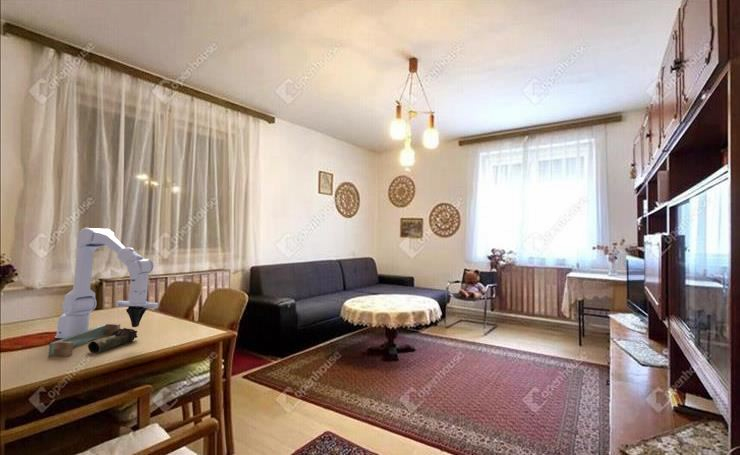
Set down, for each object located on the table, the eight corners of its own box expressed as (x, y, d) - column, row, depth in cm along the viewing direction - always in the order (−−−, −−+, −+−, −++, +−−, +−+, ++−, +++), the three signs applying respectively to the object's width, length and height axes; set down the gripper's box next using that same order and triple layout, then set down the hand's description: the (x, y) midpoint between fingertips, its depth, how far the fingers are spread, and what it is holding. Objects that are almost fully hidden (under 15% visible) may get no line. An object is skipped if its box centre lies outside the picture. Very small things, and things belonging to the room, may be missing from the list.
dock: (48, 355, 122) (49, 341, 122) (103, 333, 149) (104, 323, 149) (68, 356, 122) (69, 343, 122) (119, 334, 149) (120, 323, 149)
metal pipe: (98, 354, 126) (100, 338, 126) (82, 352, 127) (84, 336, 128) (139, 341, 144) (140, 326, 144) (125, 339, 145) (126, 325, 145)
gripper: (111, 291, 133) (108, 328, 132) (152, 293, 133) (149, 330, 133) (123, 288, 140) (120, 323, 139) (162, 290, 140) (159, 325, 140)
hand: (135, 326), depth 136 cm, fingers closed
